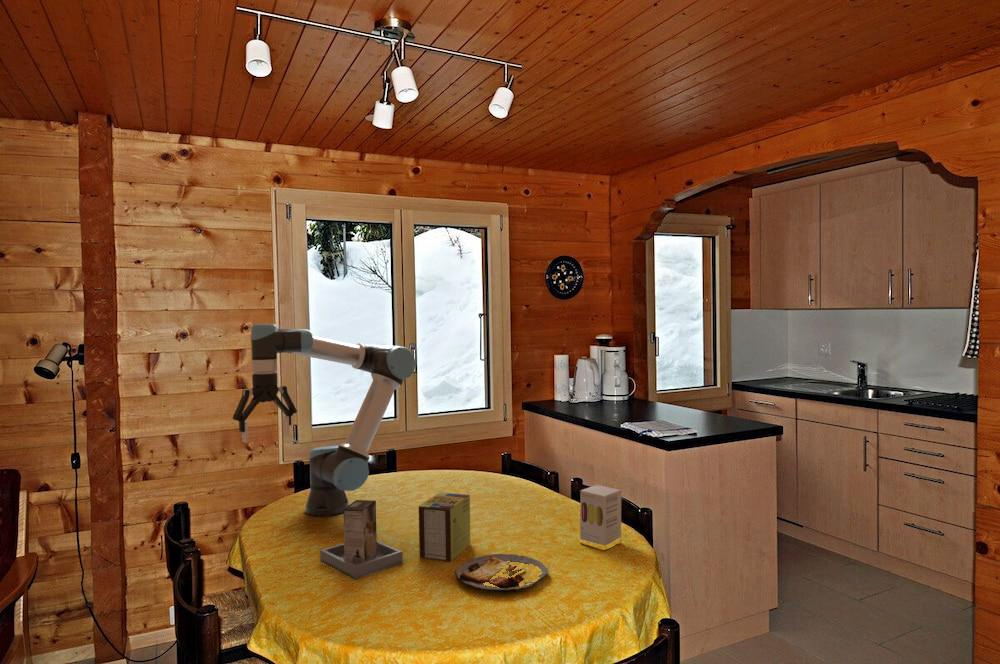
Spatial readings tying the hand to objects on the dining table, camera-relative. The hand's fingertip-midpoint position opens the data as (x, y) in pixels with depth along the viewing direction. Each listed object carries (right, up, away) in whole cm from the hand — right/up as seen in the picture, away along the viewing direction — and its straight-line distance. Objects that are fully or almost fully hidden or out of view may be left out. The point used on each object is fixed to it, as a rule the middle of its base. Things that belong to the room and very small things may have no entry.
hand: (266, 439), depth 212 cm
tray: (+35, -32, -21) cm, 52 cm away
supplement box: (+106, -31, -8) cm, 110 cm away
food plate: (+75, -33, -32) cm, 88 cm away
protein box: (+58, -32, -12) cm, 67 cm away
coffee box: (+35, -31, -21) cm, 51 cm away
